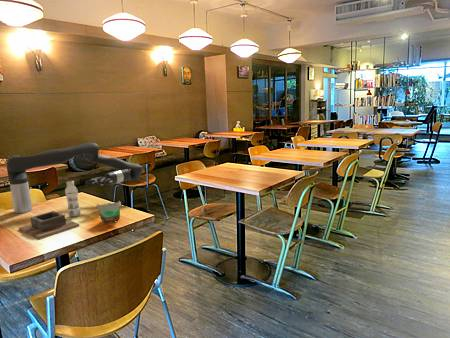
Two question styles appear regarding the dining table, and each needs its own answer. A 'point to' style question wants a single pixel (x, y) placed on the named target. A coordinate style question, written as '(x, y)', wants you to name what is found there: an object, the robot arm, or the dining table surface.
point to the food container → (109, 212)
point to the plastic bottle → (72, 199)
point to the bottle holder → (48, 225)
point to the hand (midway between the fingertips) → (90, 183)
